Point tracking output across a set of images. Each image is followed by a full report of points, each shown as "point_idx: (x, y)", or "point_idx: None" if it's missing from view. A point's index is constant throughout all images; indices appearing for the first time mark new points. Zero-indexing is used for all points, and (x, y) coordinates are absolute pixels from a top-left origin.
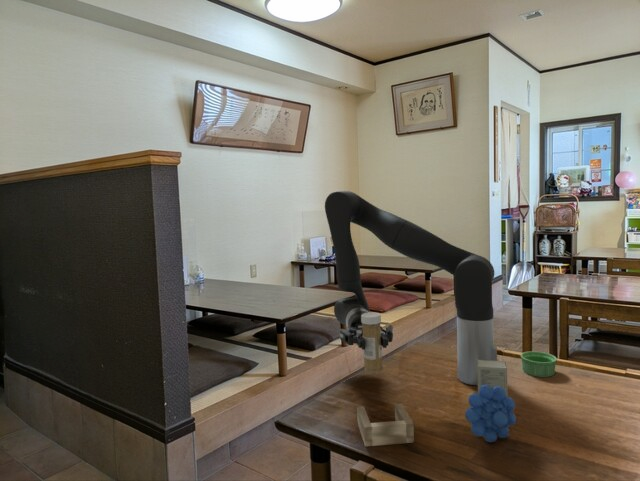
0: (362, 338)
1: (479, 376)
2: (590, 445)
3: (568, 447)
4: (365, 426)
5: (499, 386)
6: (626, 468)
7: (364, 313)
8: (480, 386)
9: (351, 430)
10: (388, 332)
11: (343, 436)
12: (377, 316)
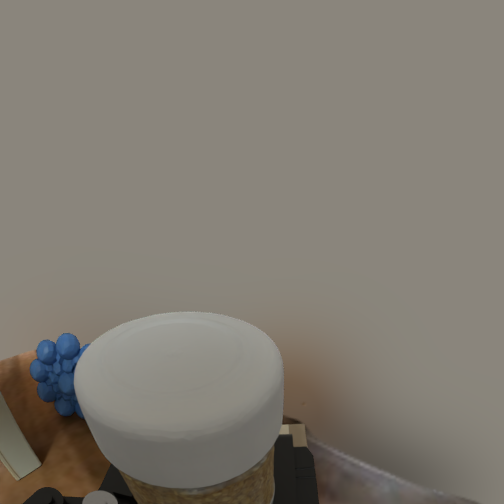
0: (281, 465)
1: (2, 396)
2: (12, 376)
3: (30, 381)
4: (301, 425)
5: (40, 343)
6: (32, 352)
7: (226, 393)
8: (11, 413)
9: (326, 498)
10: (61, 494)
11: (345, 478)
12: (148, 318)
